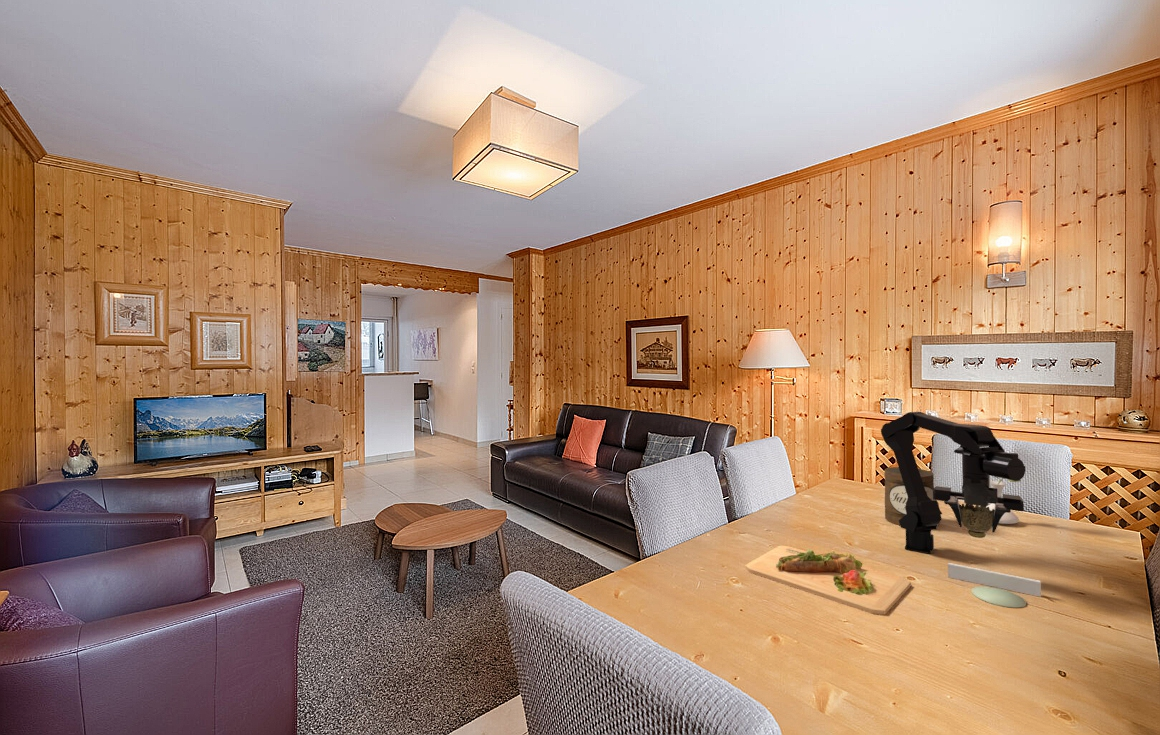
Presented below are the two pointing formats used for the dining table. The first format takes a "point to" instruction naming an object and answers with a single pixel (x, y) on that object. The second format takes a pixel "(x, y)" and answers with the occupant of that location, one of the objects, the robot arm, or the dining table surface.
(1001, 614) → the dining table surface
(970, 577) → the acrylic wall
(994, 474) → the robot arm
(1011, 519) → the flower in vase
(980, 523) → the cup
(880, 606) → the cutting board
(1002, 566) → the dining table surface
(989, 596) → the pad
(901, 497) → the wooden container
